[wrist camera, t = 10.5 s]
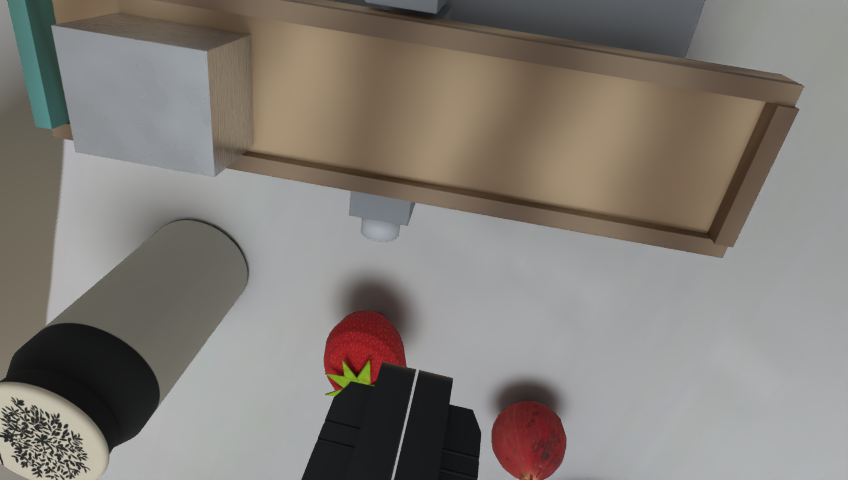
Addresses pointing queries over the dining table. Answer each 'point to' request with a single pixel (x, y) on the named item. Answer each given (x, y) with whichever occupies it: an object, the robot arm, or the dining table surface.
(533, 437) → the pomegranate
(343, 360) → the strawberry
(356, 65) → the beam
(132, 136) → the block
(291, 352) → the dining table surface
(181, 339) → the travel mug
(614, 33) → the pivot stand
